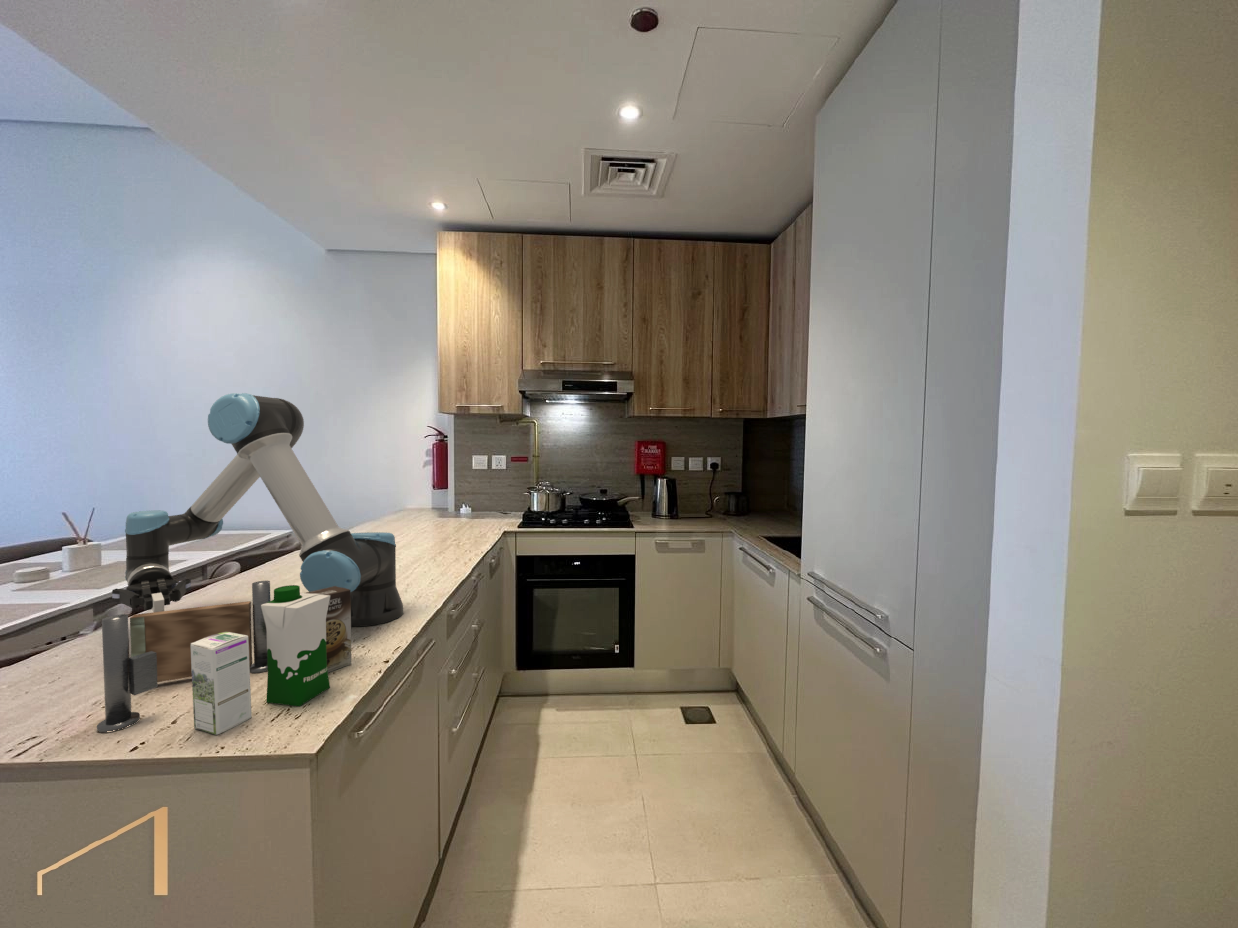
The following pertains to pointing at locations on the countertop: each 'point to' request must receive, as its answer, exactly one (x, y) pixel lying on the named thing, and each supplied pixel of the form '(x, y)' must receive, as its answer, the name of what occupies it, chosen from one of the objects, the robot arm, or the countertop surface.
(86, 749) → the countertop surface
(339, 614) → the brown cookie box
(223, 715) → the syrup box
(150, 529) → the robot arm
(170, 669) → the gate
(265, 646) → the hinge post
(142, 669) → the latch post
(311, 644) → the milk carton
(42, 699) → the countertop surface
